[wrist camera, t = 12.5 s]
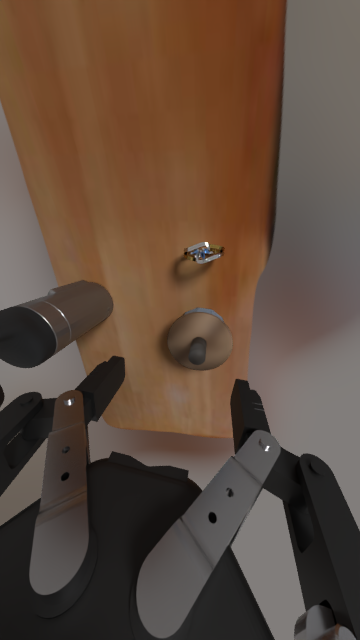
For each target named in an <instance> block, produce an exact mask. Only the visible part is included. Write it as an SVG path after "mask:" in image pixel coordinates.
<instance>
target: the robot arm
mask: <svg viewBox="0 0 360 640" xmlns="http://www.w3.org/2000/svg"><path fill="white" fill-rule="evenodd" d="M112 310H113V301H112V298H111V296H110V294H109V293H108V291H107V290H106V289H105V288H104V287H102V286H101V285H99V284H97V283H93V282H86V281H84V280H81V281H78V282H74V283H71V284H68V285H64V286H61V287H57V288H54V289H51V290H50V291H49V293H48V295H47V296H45V297H41V298H38V299H35V300H32V301H29V302H26V303H23V304H20V305H17V306H14V307H10V308H7V309H4V310H1V311H0V359H2V360H3V361H5V362H7V363H9V364H11V365H13V366H16V367H21V368H32V367H35V366H38V365H40V364H41V363H43V362H45V361H46V360H47V359H49V358H50V357H52V356H53V355H55V354H56V353H57V352H59V351H60V350H62V349H63V348H65V347H66V346H67V345H69V344H70V343H71V342H73V341H74V340H76V339H77V338H79V337H80V336H82V335H83V334H84V333H86V332H87V331H89V330H90V329H91V328H93V327H94V326H96V325H97V324H99V323H100V322H102V321H103V320H105V319H106V318H107V317H108V316H109V315H110V314H111V312H112ZM124 378H125V360H124V358H123V357H118V356H112V357H111V358H110V360H109V361H108V362H106V361H104V362H103V363H101V364H99V365H98V366H97V367H96V368H95V369H94V370H93V371H92V372H91V373H90V374H89V375H88V376H87V377H86V378H85V379H84V380H83V381H82V382H81V383H80V385H79V386H78V387H77V388H76V389H75V390H71V391H67V392H65V393H63V394H61V395H60V396H59V397H58V398H50V399H42V396H41V394H40V393H38V392H29V393H26V394H23V395H21V396H19V397H17V398H16V399H15V400H13V401H12V402H11V403H10V404H9V405H8V406H6V407H5V408H4V409H3V410H2V411H0V496H1V495H2V494H3V492H4V491H5V490H6V489H7V487H8V486H9V485H10V484H11V482H12V481H13V480H14V479H15V477H16V476H17V475H18V473H19V472H20V471H21V470H22V468H23V467H24V466H25V464H26V463H27V462H28V461H29V459H30V458H31V457H32V456H33V454H34V453H35V452H36V451H37V449H38V448H39V447H40V446H41V444H42V443H43V442H44V440H45V439H46V438H48V443H47V451H46V460H45V469H44V477H43V485H42V494H41V498H40V499H38V500H37V501H35V502H34V503H32V504H31V505H30V506H28V507H27V508H25V509H24V510H22V511H21V512H20V513H18V514H17V515H15V516H14V517H13V518H11V519H10V520H8V521H7V522H5V523H4V524H3V525H1V526H0V640H275V639H274V637H273V635H272V633H271V631H270V629H269V627H268V625H267V623H266V620H265V618H264V616H263V614H262V612H261V610H260V608H259V606H258V604H257V602H256V599H255V598H254V595H253V593H252V591H251V589H250V587H249V585H248V583H247V580H246V578H245V576H244V574H243V572H242V570H241V568H240V566H239V564H238V561H237V559H236V557H235V555H234V553H233V551H232V549H231V546H232V544H233V542H234V540H235V538H236V536H237V534H238V533H239V531H240V529H241V527H242V525H243V523H244V522H245V520H246V518H247V516H248V514H249V512H250V510H251V509H252V507H253V505H254V503H255V501H256V500H257V498H258V496H259V494H260V492H261V491H262V489H263V488H264V489H266V490H267V491H269V492H270V493H272V494H274V495H276V496H277V497H279V498H280V499H282V500H283V505H284V509H285V514H286V519H287V524H288V529H289V533H290V538H291V543H292V547H293V552H294V557H295V562H296V566H297V571H298V576H299V581H300V585H301V590H302V595H303V599H304V604H305V609H306V612H305V613H304V614H302V615H301V616H300V617H299V618H298V619H297V621H296V624H295V629H294V640H360V531H359V529H358V526H357V524H356V522H355V520H354V518H353V516H352V513H351V511H350V509H349V507H348V505H347V502H346V500H345V499H344V496H343V494H342V491H341V489H340V487H339V485H338V483H337V481H336V478H335V476H334V474H333V472H332V471H331V469H330V468H329V466H328V465H327V464H326V463H325V462H324V461H322V460H321V459H320V458H318V457H316V456H314V455H311V454H303V455H301V457H298V456H296V455H294V454H292V453H290V452H288V451H286V450H285V449H283V448H282V447H281V446H280V445H279V443H278V441H277V440H276V438H275V437H274V436H272V435H271V433H270V429H269V425H268V422H267V418H266V415H265V412H264V408H263V405H262V401H261V398H260V396H259V395H258V393H257V392H256V391H255V390H250V388H249V383H248V381H245V380H240V379H236V380H235V384H234V387H233V391H232V395H231V402H230V406H231V417H232V427H233V438H234V449H235V456H234V457H233V456H231V457H230V458H229V459H228V460H227V462H226V463H225V464H224V465H223V467H222V468H221V469H220V470H219V471H218V473H217V474H216V475H215V476H214V478H213V479H212V480H211V481H210V483H209V484H208V485H207V486H206V488H205V489H204V490H203V491H202V490H201V488H200V487H199V486H198V485H197V484H196V483H195V482H193V481H192V480H190V479H189V478H188V470H184V469H180V468H176V467H172V466H152V467H149V466H146V465H144V464H142V463H141V462H139V461H137V460H136V459H134V458H133V457H131V456H129V455H125V454H121V453H117V452H113V451H112V453H111V455H110V457H109V458H105V459H100V460H97V461H95V462H92V463H91V461H90V451H89V439H88V438H89V437H88V426H87V425H88V423H89V422H90V421H91V420H92V421H96V422H97V421H98V420H99V418H100V416H101V415H102V414H103V412H104V410H105V409H106V407H107V406H108V404H109V403H110V401H111V400H112V398H113V397H114V395H115V394H116V392H117V391H118V389H119V388H120V386H121V384H122V383H123V381H124ZM3 401H4V392H3V389H2V387H1V385H0V407H1V405H2V403H3ZM19 431H20V432H19ZM17 434H18V435H17ZM15 436H16V437H15ZM12 439H13V440H12ZM11 440H12V441H11ZM10 441H11V442H10ZM9 442H10V443H9ZM8 443H9V444H8ZM7 444H8V445H7Z"/></svg>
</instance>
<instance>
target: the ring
mask: <svg viewBox="0 0 360 640" xmlns="http://www.w3.org/2000/svg"><path fill="white" fill-rule="evenodd" d="M202 247H207V248H202ZM200 248H202V249H200ZM224 249H225V248H224V247H222V246H218V245H211V244H209V243H207V242H202V243H199V244H196V245H194V246H191V247H189V248H185V249H184V257H185V258H186V259H189V260H192V261H196V262H197V263H199V264H202V263H206V262H209V261H211V260H213V259H216V258H219V257H221V256H224ZM189 254H196V255H194V256H192V255H189ZM205 254H213V255H211V256H208V257H206V258H205ZM201 257H202V258H203V259H199V258H201Z"/></svg>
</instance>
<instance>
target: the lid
mask: <svg viewBox="0 0 360 640" xmlns="http://www.w3.org/2000/svg"><path fill="white" fill-rule="evenodd" d="M167 343H168V348H169V350H170V353H171V354H172V356H173V357H174V358H175V359H176V360H177V361H178V362H179V363H180V364H182V365H183V366H185V367H187V368H190V369H194V370H210V369H214V368H216V367H218V366H220V365H222V364H223V363H224V362H225V361H226V360H227V359H228V357H229V356H230V354H231V351H232V346H233V341H232V335H231V332H230V330H229V328H228V326H227V325H226V324H225V323H224V322H223V321H222V320H221V319H220V318H218V317H217V316H215V315H212V314H210V313H205V312H192V313H188V314H185V315H183V316H181V317H180V318H178V319H177V320H176V321H175V322H174V323H173V325H172V326H171V328H170V330H169V333H168V338H167Z"/></svg>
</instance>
